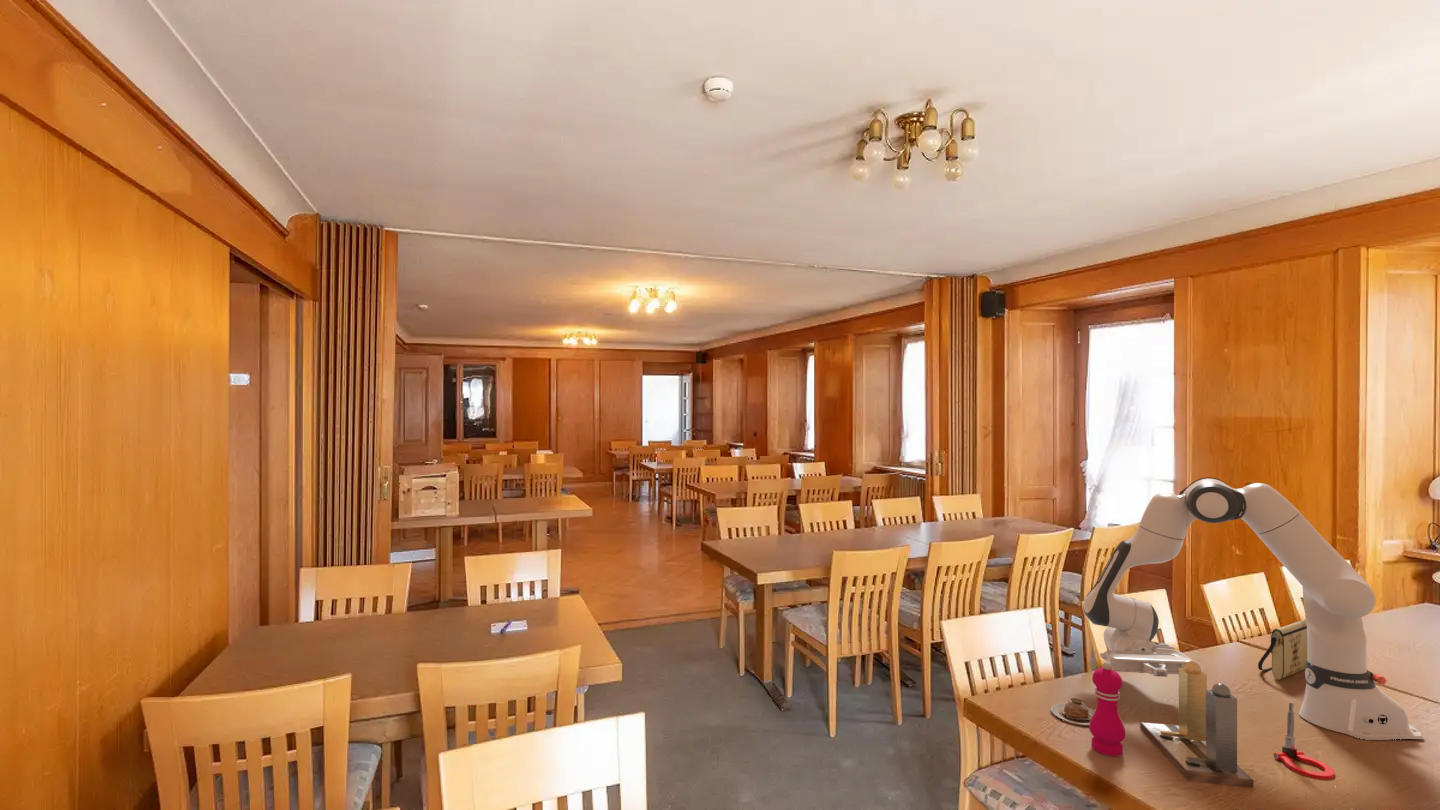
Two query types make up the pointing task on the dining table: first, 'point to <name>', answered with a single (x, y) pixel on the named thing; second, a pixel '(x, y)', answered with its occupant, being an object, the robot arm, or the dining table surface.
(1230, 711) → the fixed leg
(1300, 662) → the clutch purse
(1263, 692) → the dining table surface
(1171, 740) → the bolt strip
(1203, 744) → the walnut board
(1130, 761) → the dining table surface
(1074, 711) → the pastry
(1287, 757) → the tow hook
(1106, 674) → the pepper mill
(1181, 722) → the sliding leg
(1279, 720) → the dining table surface
